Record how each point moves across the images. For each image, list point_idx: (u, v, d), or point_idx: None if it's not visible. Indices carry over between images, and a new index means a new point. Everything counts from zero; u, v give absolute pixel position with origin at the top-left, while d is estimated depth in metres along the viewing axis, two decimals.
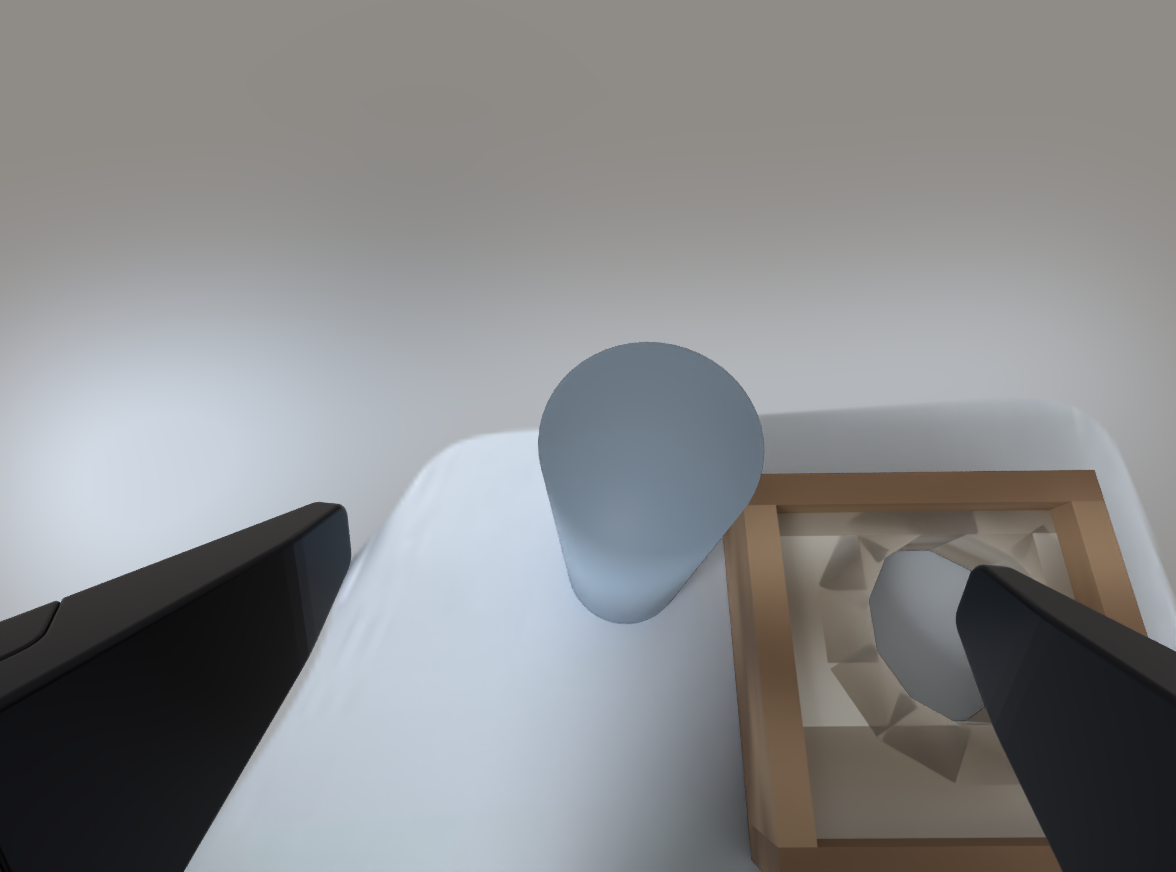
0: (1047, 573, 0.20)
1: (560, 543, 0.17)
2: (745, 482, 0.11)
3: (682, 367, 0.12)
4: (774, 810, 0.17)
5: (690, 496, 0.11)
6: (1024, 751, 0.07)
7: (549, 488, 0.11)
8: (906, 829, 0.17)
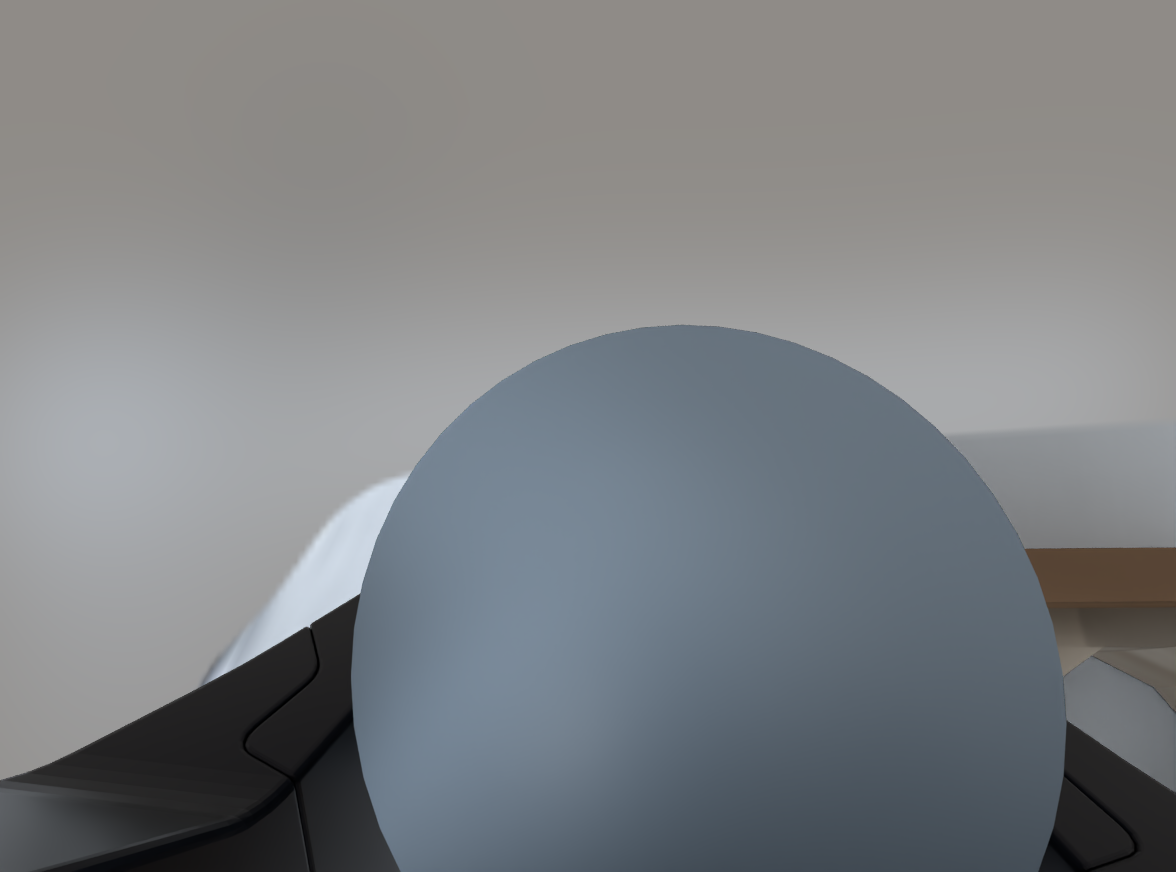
0: None
1: None
2: (1018, 788, 0.03)
3: (783, 397, 0.04)
4: None
5: (835, 835, 0.03)
6: None
7: (373, 799, 0.03)
8: None
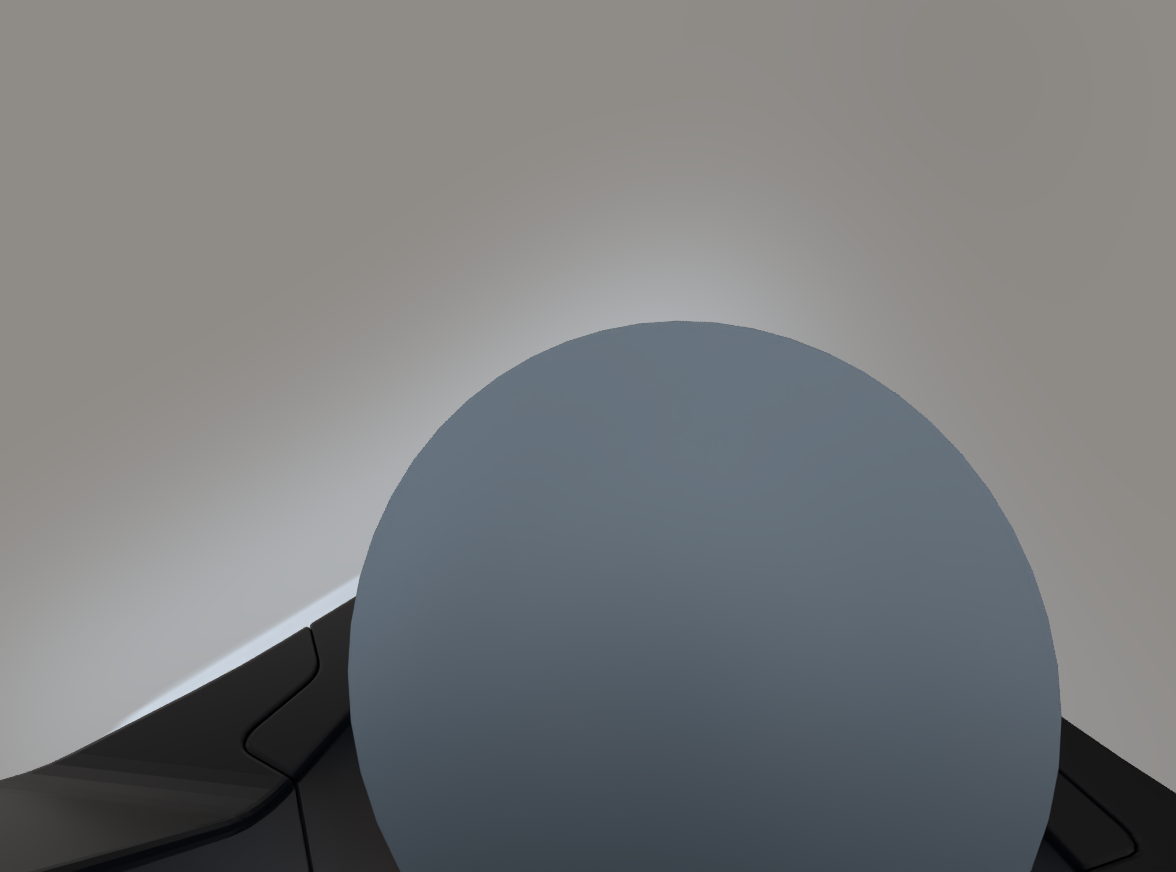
0: None
1: None
2: (1013, 781, 0.03)
3: (779, 391, 0.04)
4: None
5: (831, 829, 0.03)
6: None
7: (369, 794, 0.03)
8: None
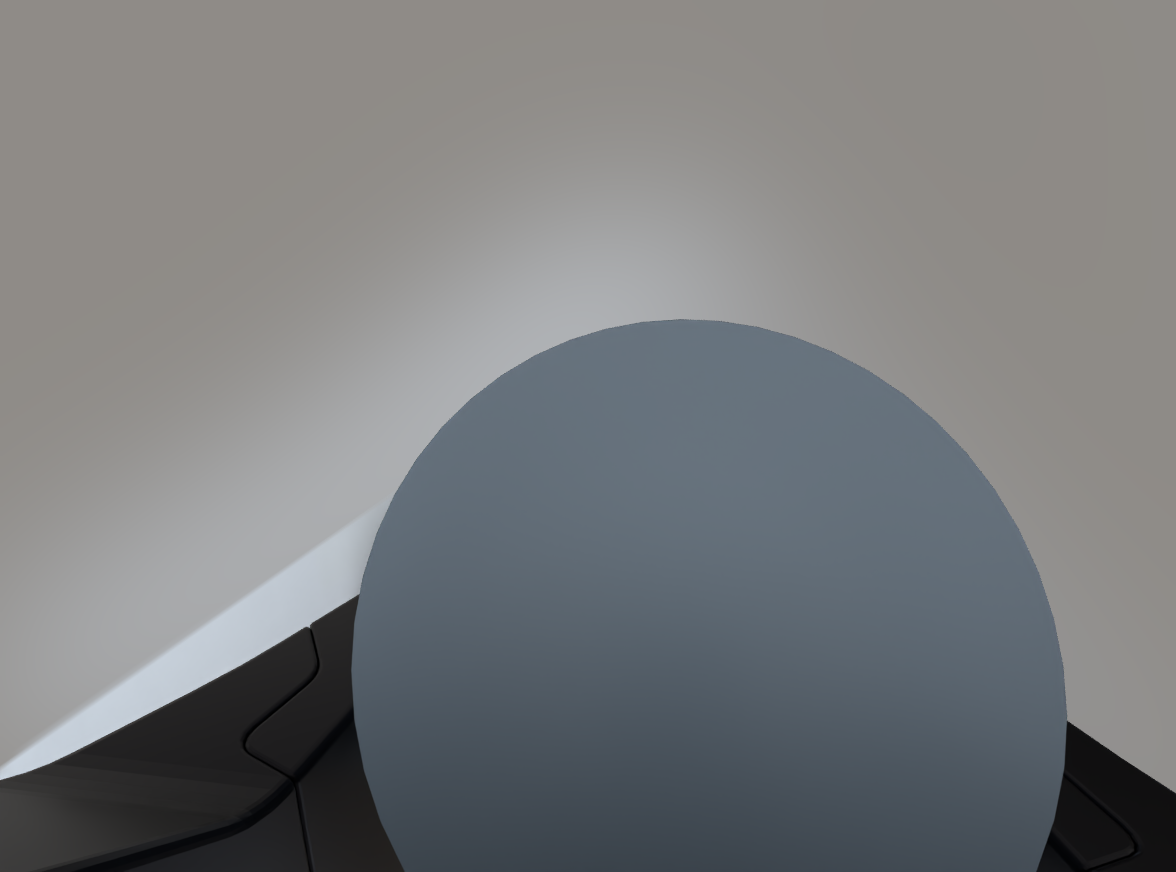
0: None
1: None
2: (1018, 780, 0.03)
3: (784, 390, 0.04)
4: None
5: (837, 829, 0.03)
6: None
7: (373, 792, 0.03)
8: None
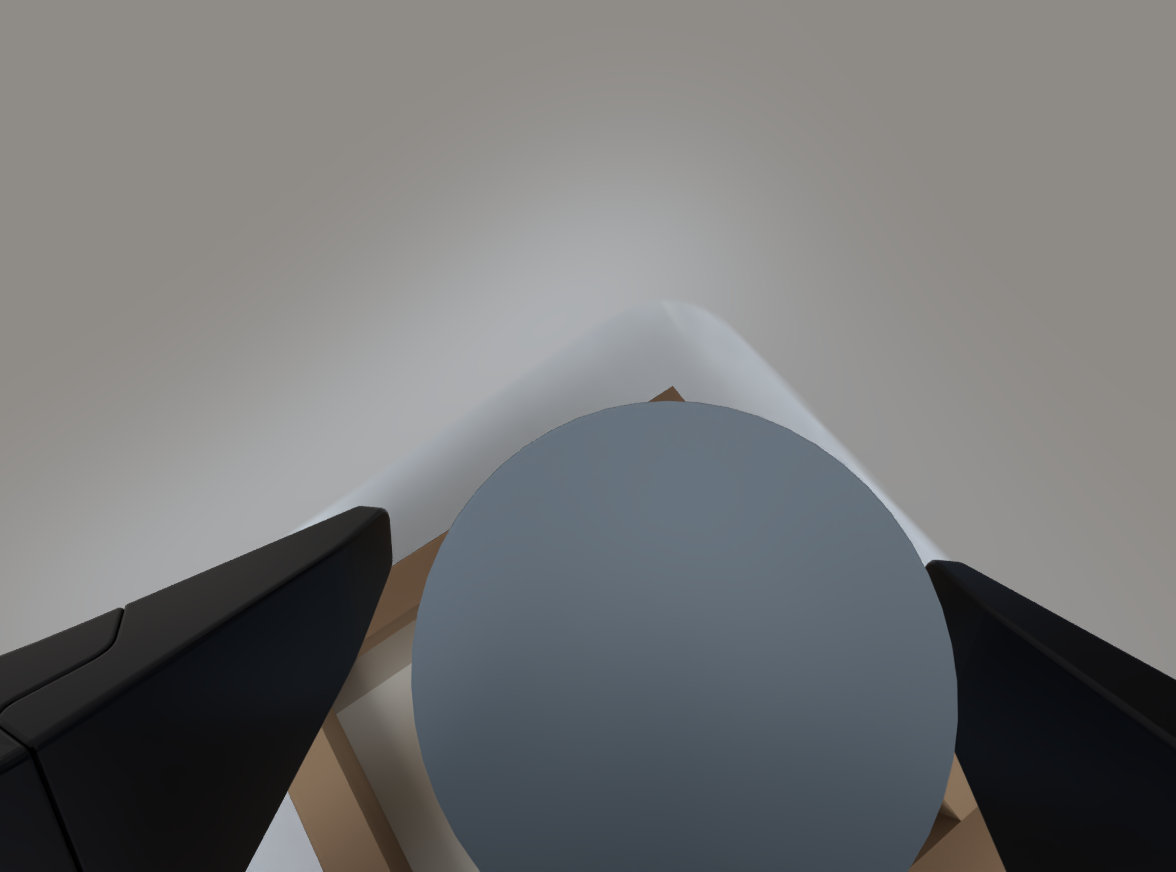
0: None
1: None
2: (919, 768, 0.04)
3: (749, 461, 0.05)
4: None
5: (781, 806, 0.04)
6: (969, 745, 0.08)
7: (430, 778, 0.04)
8: None
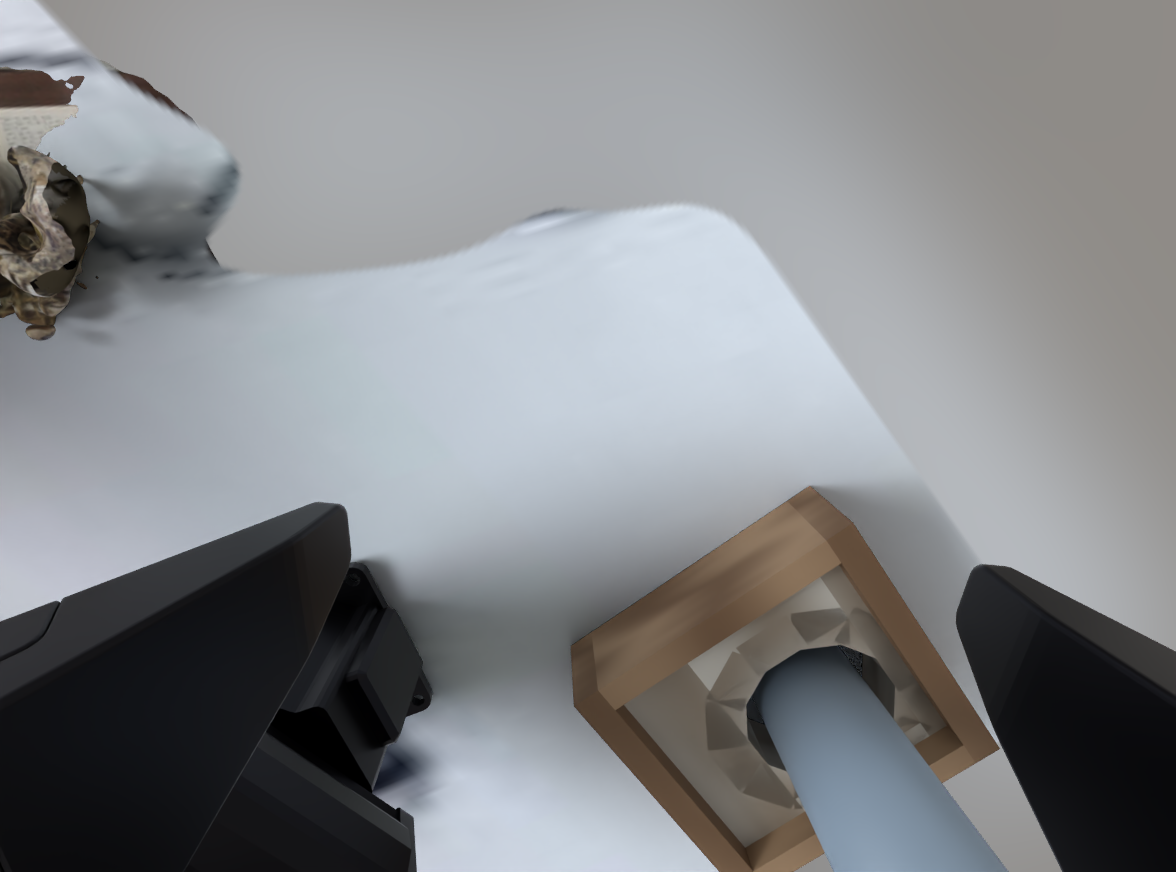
0: None
1: (854, 740, 0.19)
2: None
3: None
4: (617, 676, 0.21)
5: None
6: (1024, 751, 0.07)
7: None
8: (659, 739, 0.23)
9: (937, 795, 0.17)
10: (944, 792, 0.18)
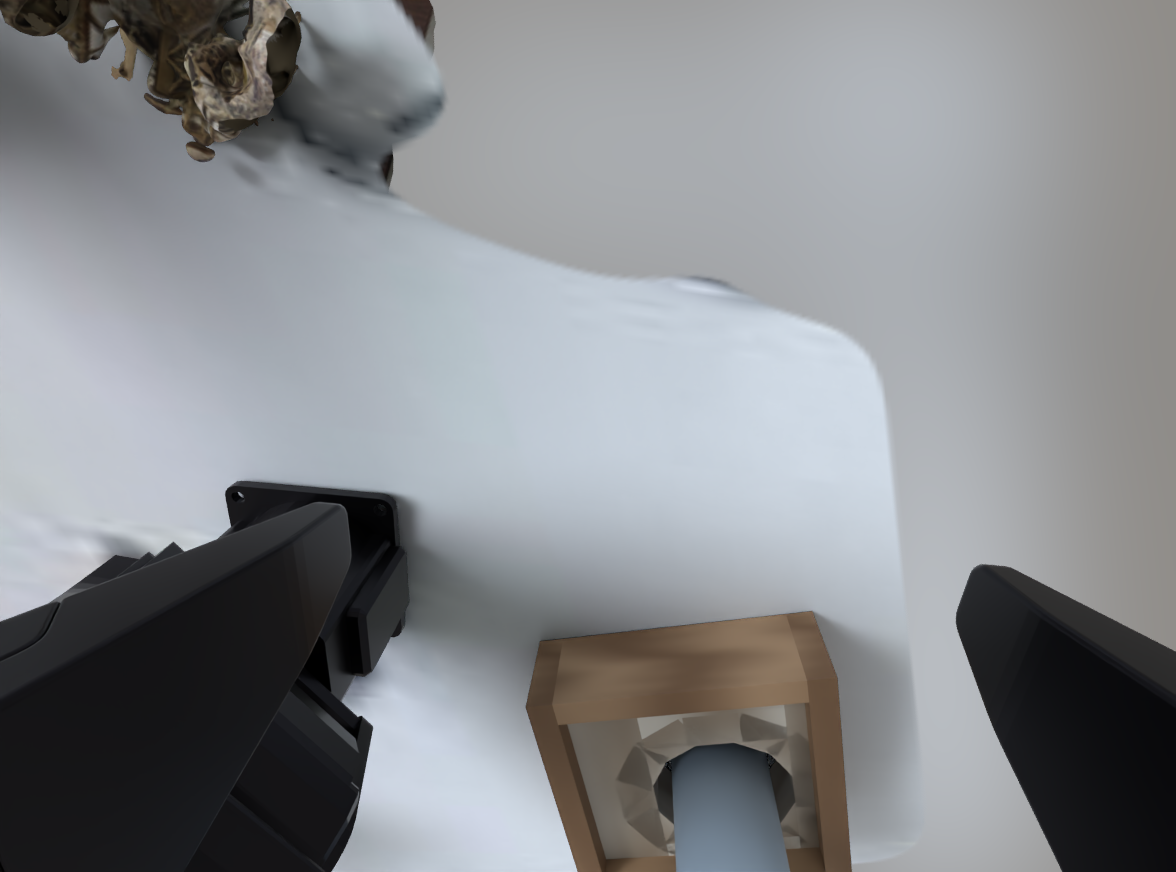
0: None
1: (746, 850, 0.22)
2: None
3: None
4: (573, 701, 0.23)
5: None
6: (1024, 751, 0.07)
7: None
8: (581, 754, 0.25)
9: None
10: None
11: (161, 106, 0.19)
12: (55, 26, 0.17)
